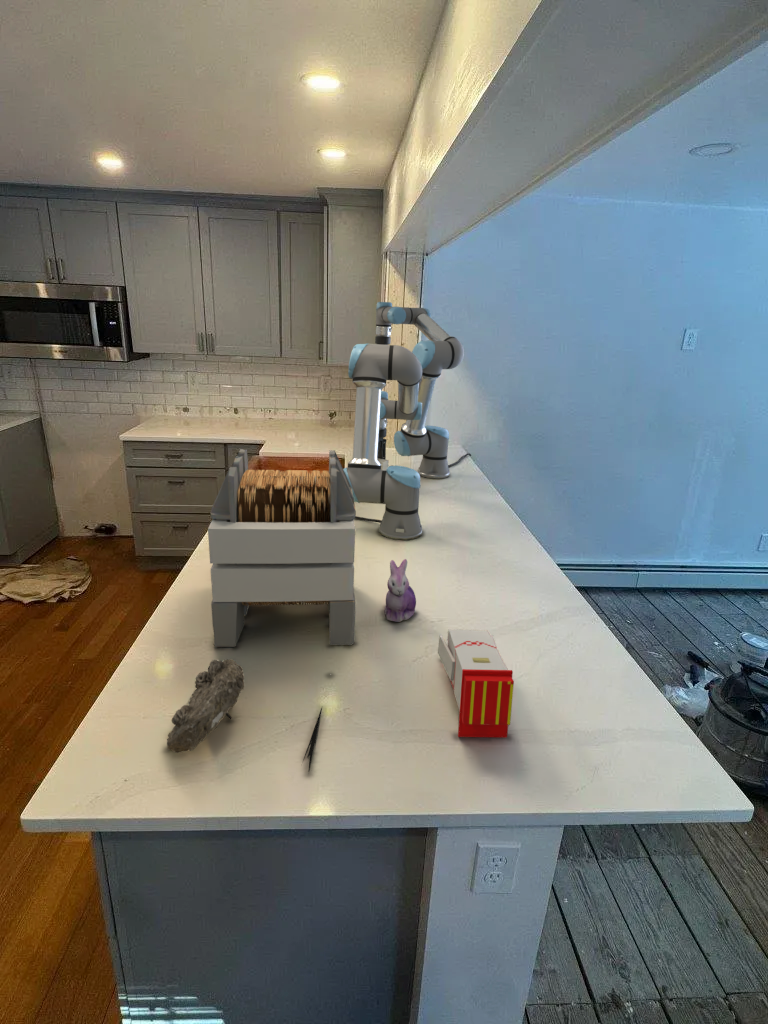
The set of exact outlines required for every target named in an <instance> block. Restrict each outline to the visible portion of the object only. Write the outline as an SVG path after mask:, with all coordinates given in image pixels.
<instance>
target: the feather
mask: <svg viewBox="0 0 768 1024" xmlns="http://www.w3.org/2000/svg"><path fill="white" fill-rule="evenodd" d="M329 675H330V676H331V675H332V674H331V673H330V674H329ZM322 710H323V707H321V708H320V710H319V713H318V716H317V719H316V723H315V725H314V728H313V731H312V733H311V737H310V739H309V742H308V745H307V748H306V751H305V754H304V757H303V760H302V763H301V767H302V765H303V763H304V761H305V758H308V759H309V760H308V762H307V763H308V764H307V766H308V771H310V770H311V766H312V765H311V764H312V760H313V757H315V756H314V755H315V751H316V749H315V746H317V739H318V733H319V729H320V722H321V717H322V712H323V711H322ZM313 754H314V755H313ZM306 755H307V757H306Z"/></svg>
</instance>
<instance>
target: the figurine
mask: <svg viewBox="0 0 768 1024" xmlns="http://www.w3.org/2000/svg"><path fill="white" fill-rule="evenodd" d="M407 567H408V559H406V558H404V559H403V560H402V561H401V563H400V565H399V566H398V565H397V563H396V562H395V561H394V560H393V559H391V560H390V561H389V570H390V576H389V578H388V579H387V589H388V591H387V592H386V594H385V595H386V596H385V607H384V615H385V616H386V620H387V621H391V622H395V623H400V622H402V621H406V620H409V619H410V618H411V617H413V616H414V615H415V610H416V606H417V597H416V593H415V591H414V590H413V587H411V586H410V582H409V579H408V577H407V574H406V571H407Z"/></svg>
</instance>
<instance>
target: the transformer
mask: <svg viewBox="0 0 768 1024" xmlns="http://www.w3.org/2000/svg"><path fill="white" fill-rule="evenodd" d="M328 450H329V451H328V470H322V471H320V470H315V469H314V470H312V471H308V470H307V469H305V470H304V469H303V470H302V469H286V470H280V469H276V470H275V469H266V470H265V469H256V470H255V469H249V459H248V449H243V448H239V451H238V452H237V455H236V456H235V457H234V460H233V462H232V464H231V466H230V467H229V468H228V471H227V473H226V475H225V477H224V480H223V481H222V484H221V485H220V489H219V491H218V493H217V495H216V498H215V499H214V501H213V504H212V507H211V509H210V519H212V520H211V522H210V524H209V526H208V528H207V535H208V536H207V537H208V552H209V553H208V554H209V564H212V565H211V568H210V581H211V597H212V598H211V599H212V600H211V604H210V607H211V622H212V623H211V624H212V631H213V644H212V645H213V647H214V648H219V649H220V648H222V647H223V648H224V647H226V648H227V647H230V648H232V647H234V648H235V647H236V646H237V644H238V641H239V639H240V636H241V634H242V631H243V629H244V627H245V616H247V615H248V609H249V607H250V606H298V605H299V606H303V605H304V606H306V605H307V606H309V605H317V606H318V605H320V606H321V605H328V634H329V635H328V637H329V645H330V646H335V645H337V646H340V645H341V646H351V645H353V644H355V633H356V632H355V630H356V595H355V588H354V587H355V586H354V585H355V565H354V564H355V550H356V549H355V548H356V526H355V525H356V524H355V519H354V518H355V517H356V516H357V510H356V504H355V502H354V498H353V493H352V487H351V485H350V483H349V481H348V478H347V476H346V474H345V472H344V470H343V469H344V468H343V466H342V463H341V462H340V459H339V457H338V455H337V453H336V450H333V449H328Z"/></svg>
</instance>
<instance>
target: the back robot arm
mask: <svg viewBox="0 0 768 1024" xmlns="http://www.w3.org/2000/svg"><path fill="white" fill-rule="evenodd" d="M431 314H432V313H431V311H430V309H428V308H426V307H425V308H424V307H409V306H408V307H405V306H393V303H392V302H390V301H388V302H387V301H377V303H376V308H375V330H374V331H375V332H374V333H375V335H376V336H375V337H374V338H375V339H374V344H381V345H391V343H392V341H391V340H392V339H391V335H392V325H413V326H415V327H416V328H417V329H418V331H420V332H421V333H422V335H424V336H425V337H426V339H428V340H421V341H419V342H417V343H416V344H415V345H414V346H413V348H412V351H411V352H412V353H413V354H414V355H415V356H416V357H417V358H418V360H419V361H420V363H421V366H422V378H421V380H420V382H419V388H418V402H421V403H422V414H421V419H420V420H413V421H412V420H405V422H404V423H402V424H401V427H400V430H397V431H395V433H394V435H393V445H394V448H395V451H396V452H397V454H398V455H399V456H401V457H413V456H422V459H421V462H420V464H419V467H418V468H417V472H418V473H419V475H420V477H423V478H426V479H433V480H434V479H435V480H437V479H438V480H440V479H446V478H449V477H450V472H451V471H450V469H449V468H450V467H453V466H455V465H457V464H459V463H461V461H462V460H463V459H464V458H466V457H467V456H469V457H472V454H471V453H470V452H467V453H466V454H463V455H462V456H461V457H460V458H459V459H458V460H456V461H455V462H453V463H451V464H449V463H448V451H449V450H448V449H449V440H450V432H449V430H448V429H447V428H445V427H441V426H437V425H426V421H427V418H428V413H429V409H430V404H431V401H432V396H433V393H434V389H435V385H436V381H437V379H438V378H440V377H441V375H442V371H443V370H453V369H454V368H457V367H459V365H460V364H461V363H462V362H463V360H464V357H465V348H464V345H463V344H462V341H460V340H459V339H458V338H457V337H456V336H451V335H450V334H449V333H448V332H447V331H446V330H445V329H444V328H442V327H441V326H440V325H439V324H438V323H437V322H436V321H435V320H434V319H433V318H432V315H431Z"/></svg>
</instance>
